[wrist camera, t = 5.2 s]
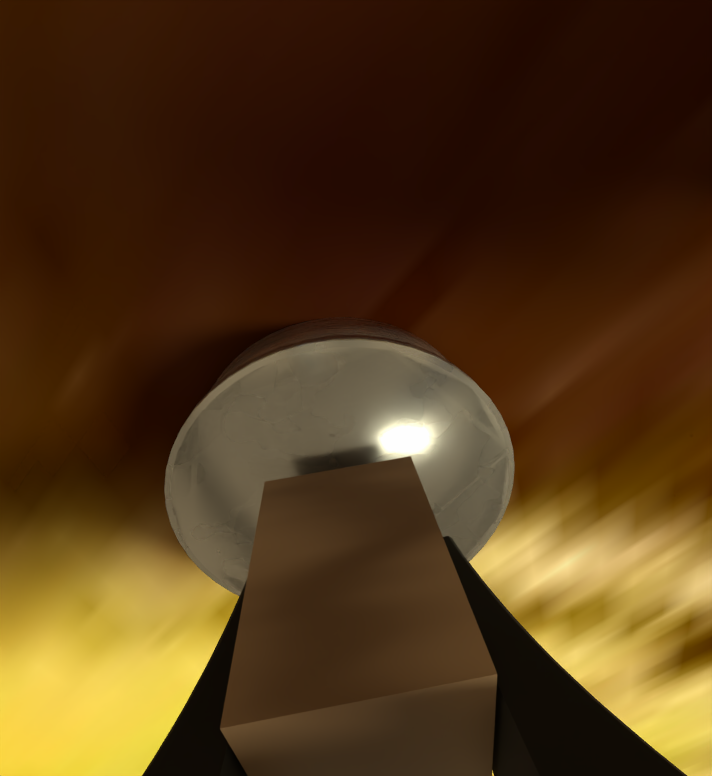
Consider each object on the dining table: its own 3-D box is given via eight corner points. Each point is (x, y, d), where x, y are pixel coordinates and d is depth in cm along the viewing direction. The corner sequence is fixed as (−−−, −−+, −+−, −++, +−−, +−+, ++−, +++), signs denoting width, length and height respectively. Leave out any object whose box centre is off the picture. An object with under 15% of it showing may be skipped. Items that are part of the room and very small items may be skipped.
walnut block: (410, 455, 11) (497, 674, 6) (419, 557, 13) (490, 791, 8) (264, 481, 11) (220, 728, 6) (295, 580, 13) (282, 834, 8)
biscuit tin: (489, 297, 14) (539, 322, 11) (466, 532, 20) (495, 593, 17) (156, 325, 13) (109, 360, 10) (228, 563, 19) (211, 633, 16)
